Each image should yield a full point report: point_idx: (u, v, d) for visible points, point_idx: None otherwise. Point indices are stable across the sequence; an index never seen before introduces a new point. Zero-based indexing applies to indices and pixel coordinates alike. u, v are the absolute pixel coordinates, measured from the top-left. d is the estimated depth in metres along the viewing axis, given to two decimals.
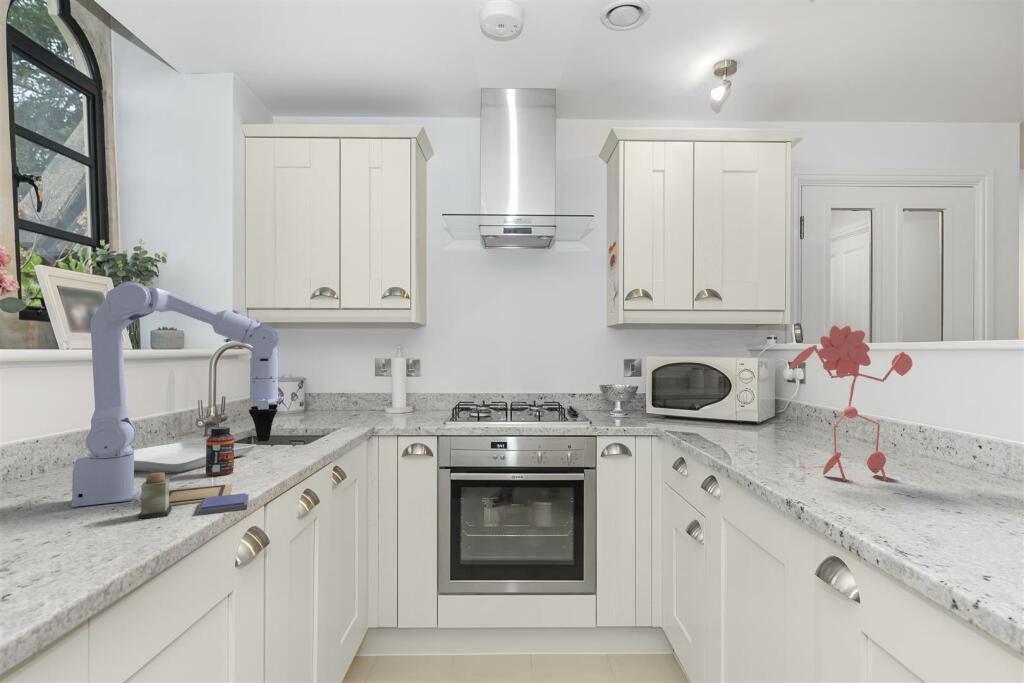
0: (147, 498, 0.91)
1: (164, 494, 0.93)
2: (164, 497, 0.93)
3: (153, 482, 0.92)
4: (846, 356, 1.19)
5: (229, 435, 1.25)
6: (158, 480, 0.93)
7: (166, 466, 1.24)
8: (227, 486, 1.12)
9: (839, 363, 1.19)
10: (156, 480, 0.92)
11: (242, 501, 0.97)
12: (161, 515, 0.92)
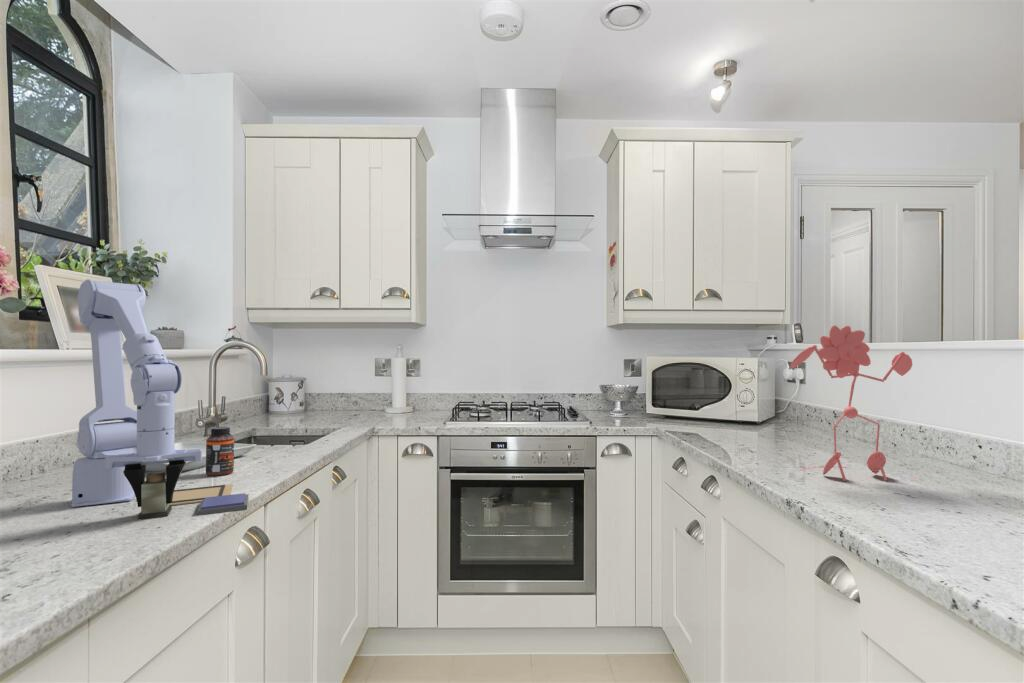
0: (147, 498, 0.91)
1: (164, 494, 0.93)
2: (164, 497, 0.93)
3: (153, 482, 0.92)
4: (846, 356, 1.19)
5: (229, 435, 1.25)
6: (158, 480, 0.93)
7: None
8: (227, 486, 1.12)
9: (839, 363, 1.19)
10: (156, 480, 0.92)
11: (242, 501, 0.97)
12: (161, 515, 0.92)
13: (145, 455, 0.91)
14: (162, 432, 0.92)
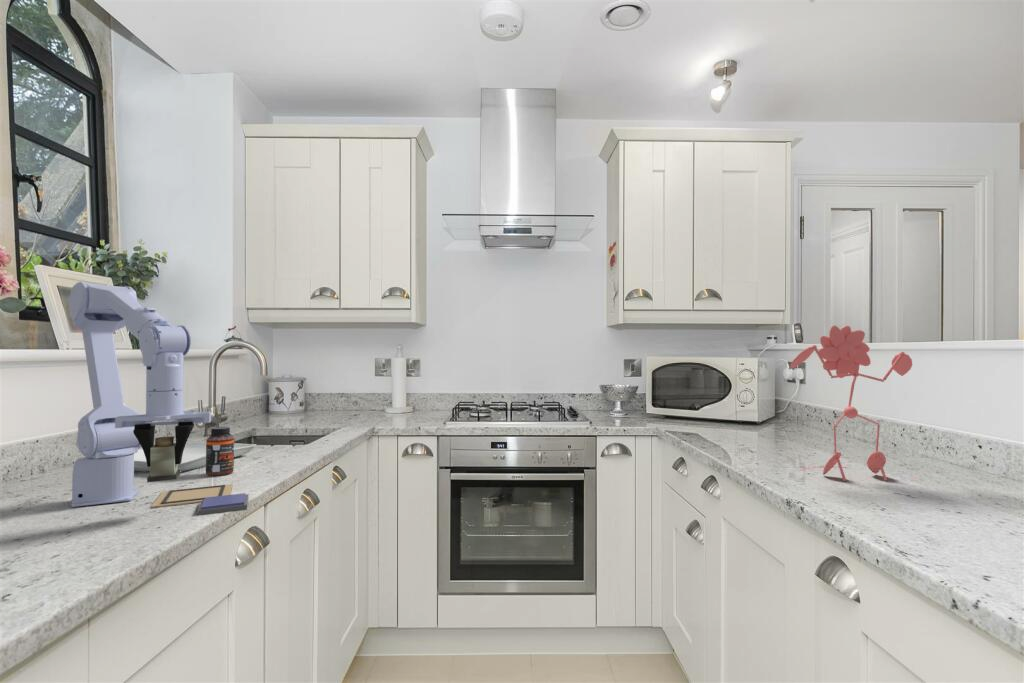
0: (156, 461, 0.92)
1: (173, 457, 0.93)
2: (173, 460, 0.93)
3: (162, 445, 0.93)
4: (846, 356, 1.19)
5: (229, 435, 1.25)
6: (167, 443, 0.93)
7: None
8: (227, 486, 1.12)
9: (839, 363, 1.19)
10: (165, 443, 0.93)
11: (242, 501, 0.97)
12: (170, 478, 0.92)
13: (154, 415, 0.92)
14: (171, 392, 0.93)
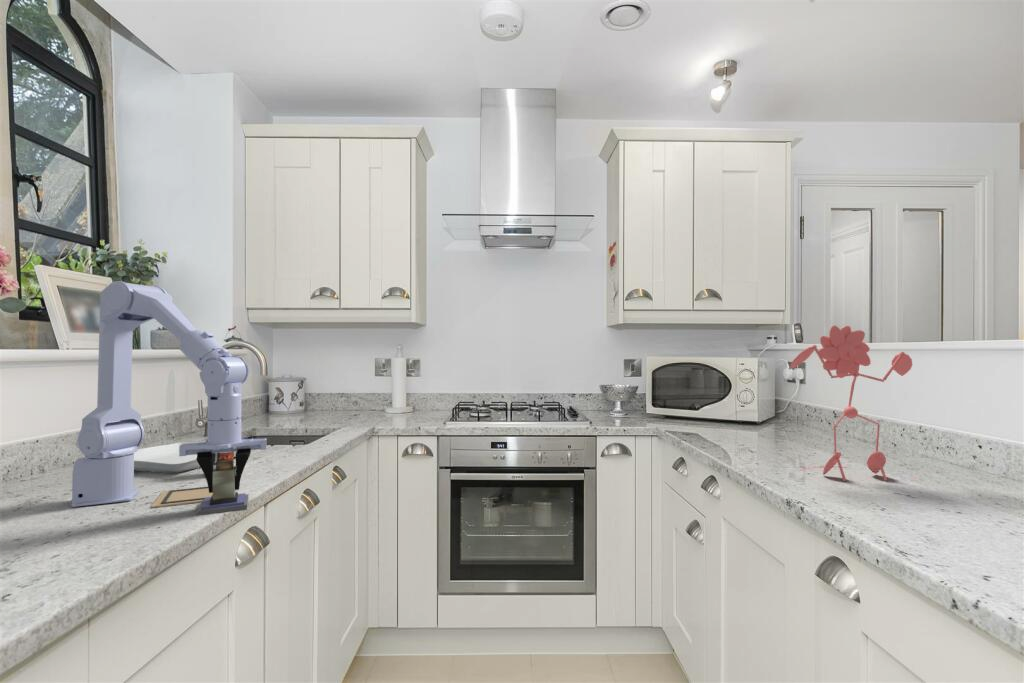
0: (218, 484, 0.96)
1: (233, 480, 0.97)
2: (233, 483, 0.97)
3: (223, 469, 0.97)
4: (846, 356, 1.19)
5: None
6: (227, 467, 0.97)
7: (166, 466, 1.24)
8: None
9: (839, 363, 1.19)
10: (226, 467, 0.97)
11: (242, 501, 0.97)
12: (231, 500, 0.96)
13: (216, 443, 0.96)
14: (232, 421, 0.97)
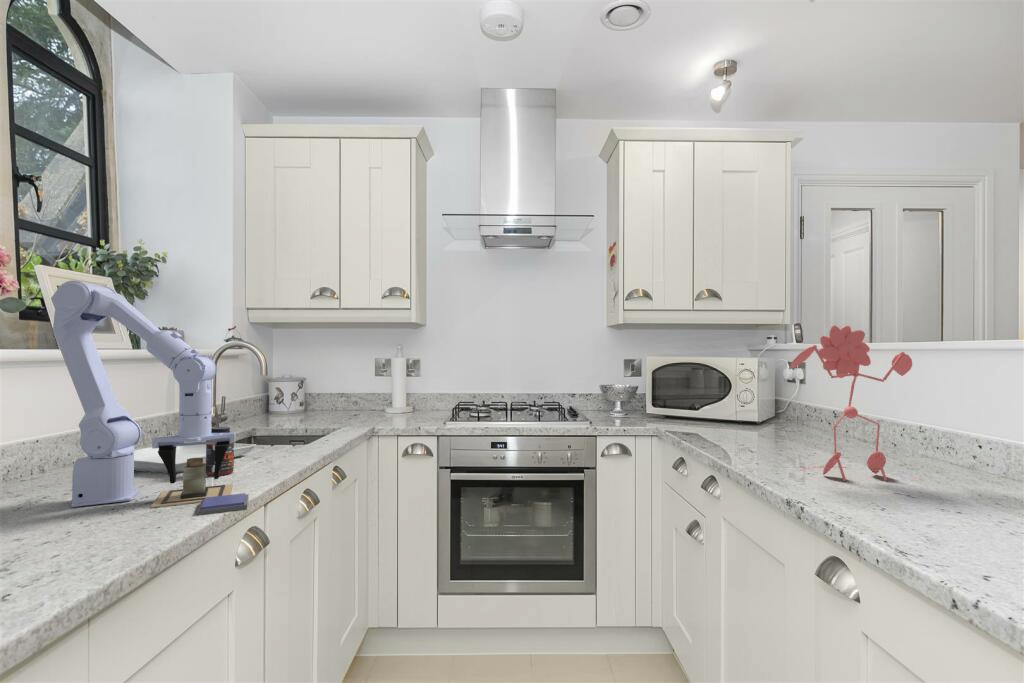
0: (188, 480, 1.03)
1: (203, 476, 1.04)
2: (203, 479, 1.04)
3: (193, 466, 1.04)
4: (846, 356, 1.19)
5: None
6: (197, 464, 1.04)
7: None
8: (227, 486, 1.12)
9: (839, 363, 1.19)
10: (196, 464, 1.04)
11: (242, 501, 0.97)
12: (200, 495, 1.03)
13: (187, 436, 1.03)
14: (201, 416, 1.04)
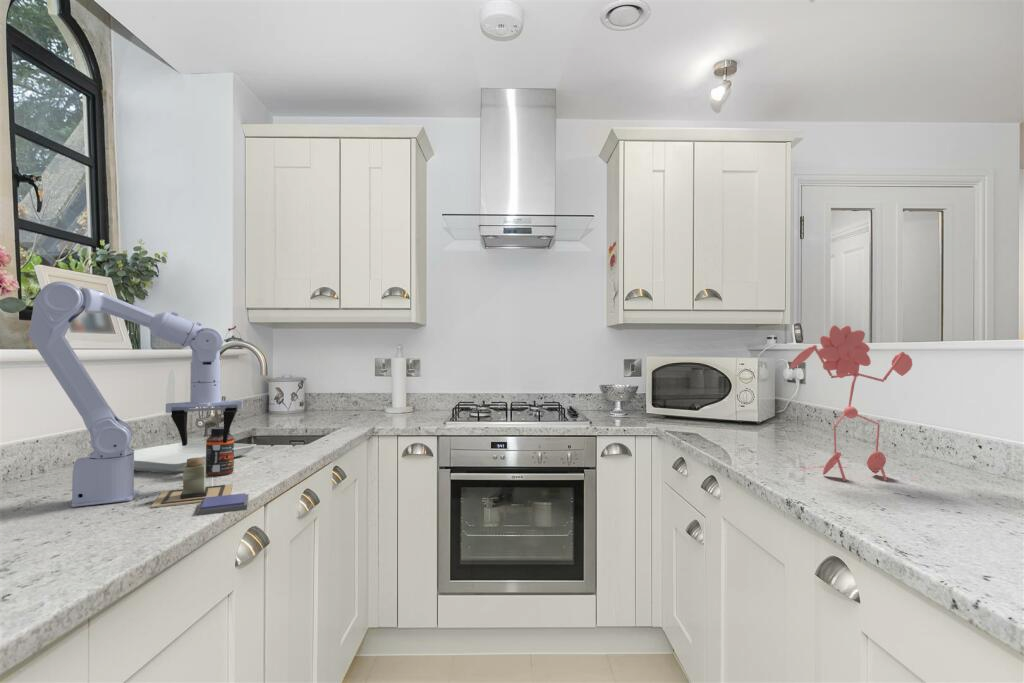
0: (188, 480, 1.03)
1: (203, 476, 1.04)
2: (203, 479, 1.04)
3: (193, 466, 1.04)
4: (846, 356, 1.19)
5: (229, 435, 1.25)
6: (197, 464, 1.04)
7: (166, 466, 1.24)
8: (227, 486, 1.12)
9: (839, 363, 1.19)
10: (196, 464, 1.04)
11: (242, 501, 0.97)
12: (200, 495, 1.03)
13: (198, 402, 1.11)
14: (211, 384, 1.12)
